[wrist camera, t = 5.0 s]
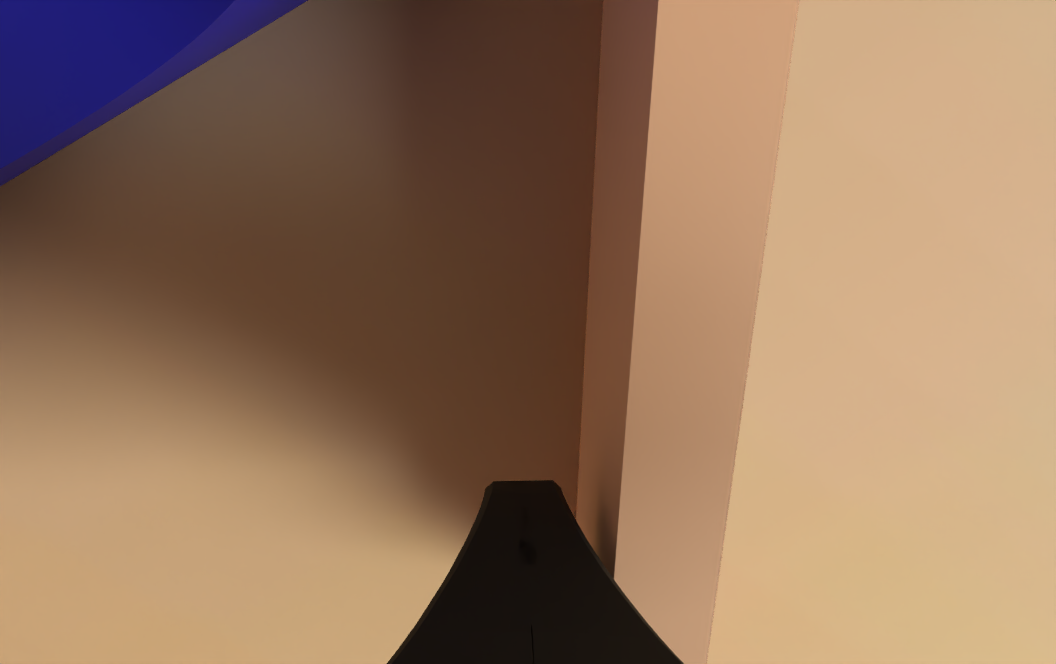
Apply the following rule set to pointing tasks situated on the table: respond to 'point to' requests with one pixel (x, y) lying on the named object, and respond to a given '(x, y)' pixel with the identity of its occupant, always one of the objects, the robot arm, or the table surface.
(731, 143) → the bar
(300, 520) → the table surface
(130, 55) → the blue pipe saddle
